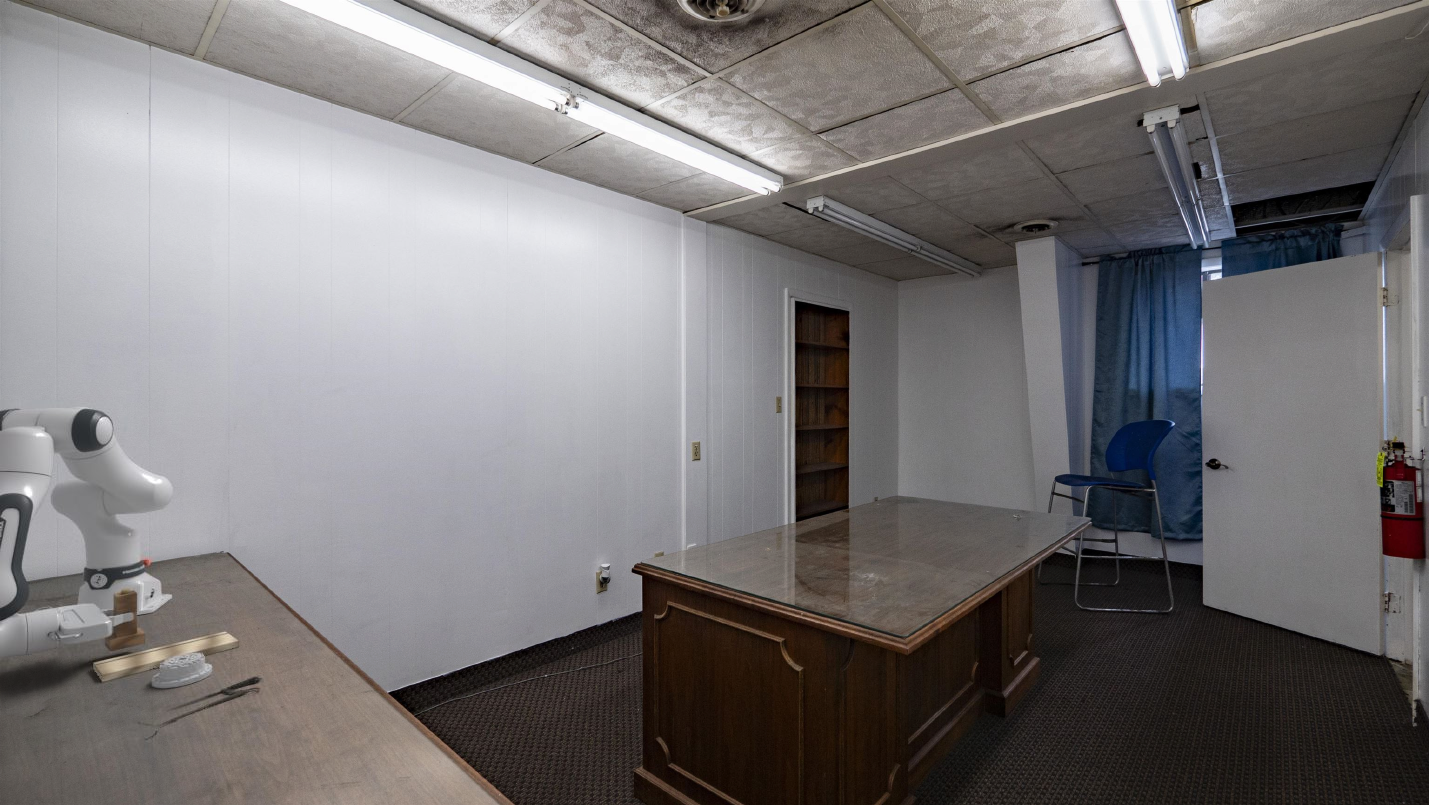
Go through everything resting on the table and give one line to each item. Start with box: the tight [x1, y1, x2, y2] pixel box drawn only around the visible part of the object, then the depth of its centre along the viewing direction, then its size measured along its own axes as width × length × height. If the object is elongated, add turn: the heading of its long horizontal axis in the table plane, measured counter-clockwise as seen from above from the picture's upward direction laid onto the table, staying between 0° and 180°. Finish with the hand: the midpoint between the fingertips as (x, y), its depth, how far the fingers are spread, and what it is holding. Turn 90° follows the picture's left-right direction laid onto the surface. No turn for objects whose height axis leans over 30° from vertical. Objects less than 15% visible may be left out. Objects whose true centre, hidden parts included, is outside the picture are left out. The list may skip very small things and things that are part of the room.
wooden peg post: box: [104, 589, 146, 652], centre depth 147 cm, size 6×6×13 cm
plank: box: [92, 631, 240, 683], centre depth 146 cm, size 24×10×2 cm, turn 143°
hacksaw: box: [134, 676, 263, 742], centre depth 122 cm, size 24×10×2 cm, turn 151°
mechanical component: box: [151, 653, 213, 689], centre depth 135 cm, size 10×4×10 cm
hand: (130, 613), depth 148 cm, fingers closed on wooden peg post, 3 cm apart
